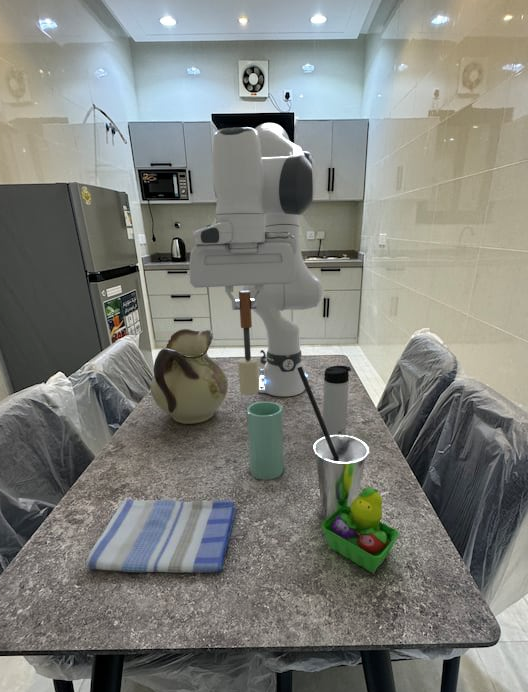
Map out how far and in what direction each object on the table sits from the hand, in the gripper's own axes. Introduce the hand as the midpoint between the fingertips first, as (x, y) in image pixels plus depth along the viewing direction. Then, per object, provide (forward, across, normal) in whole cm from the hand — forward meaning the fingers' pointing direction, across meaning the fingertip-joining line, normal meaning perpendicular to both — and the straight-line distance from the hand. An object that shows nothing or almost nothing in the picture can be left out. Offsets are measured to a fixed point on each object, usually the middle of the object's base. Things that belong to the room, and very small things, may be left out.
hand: (245, 309), depth 76 cm
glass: (+38, -13, +20) cm, 44 cm away
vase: (+38, -3, +1) cm, 38 cm away
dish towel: (+38, +19, +18) cm, 46 cm away
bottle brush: (+18, 0, 0) cm, 18 cm away
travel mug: (+38, -24, -10) cm, 46 cm away
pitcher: (+38, +13, -33) cm, 52 cm away
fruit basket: (+38, -14, +29) cm, 50 cm away
